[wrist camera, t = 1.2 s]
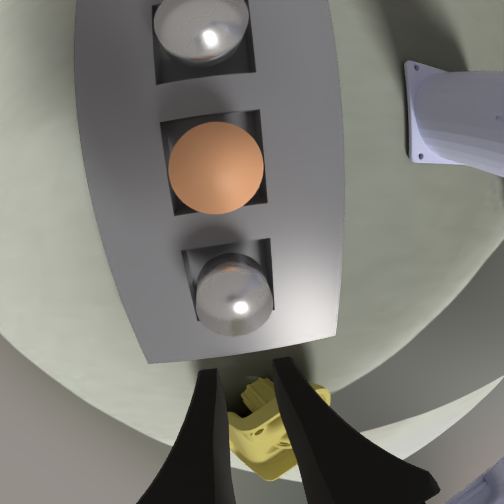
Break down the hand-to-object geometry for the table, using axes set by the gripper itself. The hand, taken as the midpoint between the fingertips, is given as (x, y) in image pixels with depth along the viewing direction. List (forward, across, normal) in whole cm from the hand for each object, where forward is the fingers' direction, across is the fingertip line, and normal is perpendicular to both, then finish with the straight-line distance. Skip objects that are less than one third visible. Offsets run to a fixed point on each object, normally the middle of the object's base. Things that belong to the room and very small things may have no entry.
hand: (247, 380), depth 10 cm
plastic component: (+11, -2, +20) cm, 23 cm away
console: (+10, 0, -7) cm, 13 cm away
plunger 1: (+7, 0, -14) cm, 16 cm away
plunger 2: (+7, 0, 0) cm, 7 cm away
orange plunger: (+7, 0, -7) cm, 10 cm away
